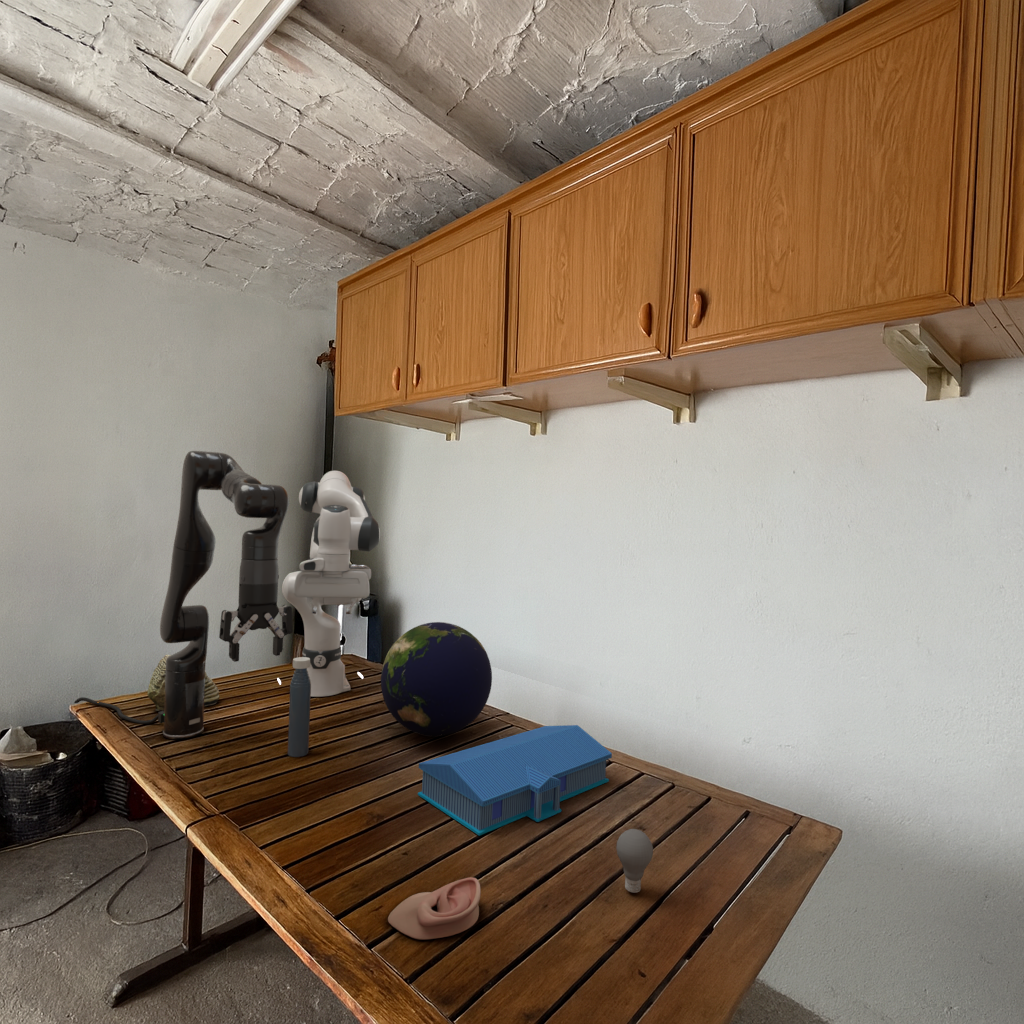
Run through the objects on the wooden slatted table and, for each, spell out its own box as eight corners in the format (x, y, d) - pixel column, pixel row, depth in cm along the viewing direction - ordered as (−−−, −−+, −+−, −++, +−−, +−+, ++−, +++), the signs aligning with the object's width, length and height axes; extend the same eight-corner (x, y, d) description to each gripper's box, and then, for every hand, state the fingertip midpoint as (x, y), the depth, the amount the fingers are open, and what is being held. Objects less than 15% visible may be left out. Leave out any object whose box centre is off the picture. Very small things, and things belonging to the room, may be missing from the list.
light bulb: (610, 879, 108) (613, 822, 108) (644, 879, 109) (647, 822, 109) (619, 902, 102) (622, 840, 102) (655, 901, 103) (658, 840, 103)
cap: (305, 669, 153) (306, 661, 153) (289, 668, 153) (289, 660, 153) (312, 665, 157) (312, 657, 157) (296, 664, 157) (297, 656, 157)
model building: (489, 842, 118) (492, 789, 118) (416, 794, 136) (418, 748, 136) (620, 786, 145) (622, 742, 145) (544, 751, 163) (546, 712, 163)
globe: (355, 741, 164) (360, 626, 164) (415, 708, 192) (419, 609, 191) (458, 763, 153) (464, 640, 152) (506, 725, 181) (511, 620, 180)
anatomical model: (380, 905, 93) (408, 862, 104) (379, 932, 93) (407, 886, 104) (467, 921, 90) (487, 875, 101) (466, 949, 90) (486, 900, 101)
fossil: (144, 707, 182) (145, 655, 182) (212, 696, 194) (213, 647, 194) (151, 716, 175) (153, 662, 175) (221, 703, 188) (223, 653, 188)
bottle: (303, 757, 153) (307, 663, 153) (283, 756, 153) (287, 662, 153) (311, 749, 158) (315, 658, 157) (292, 748, 158) (296, 657, 158)
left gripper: (284, 576, 139) (281, 649, 139) (216, 579, 129) (213, 658, 130) (299, 580, 134) (296, 656, 134) (230, 584, 124) (227, 667, 124)
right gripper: (372, 563, 180) (370, 612, 180) (297, 561, 176) (295, 611, 177) (371, 565, 174) (369, 616, 174) (293, 564, 170) (291, 615, 170)
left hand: (256, 657), depth 132 cm, fingers open, 8 cm apart
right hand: (331, 613), depth 175 cm, fingers open, 8 cm apart
